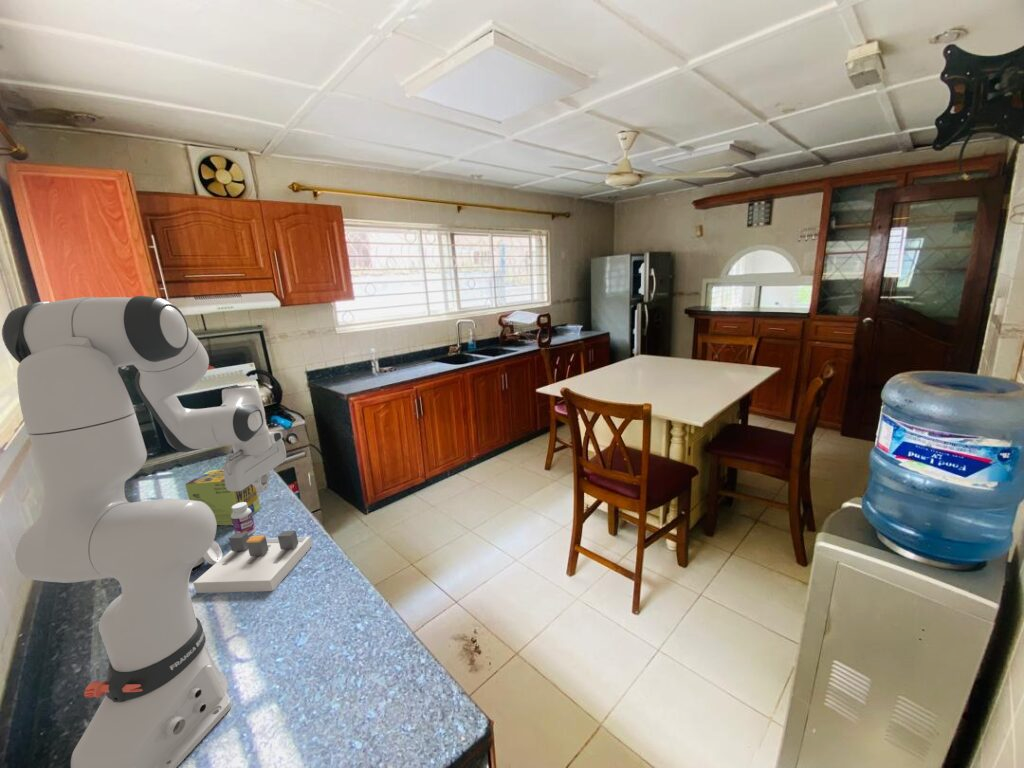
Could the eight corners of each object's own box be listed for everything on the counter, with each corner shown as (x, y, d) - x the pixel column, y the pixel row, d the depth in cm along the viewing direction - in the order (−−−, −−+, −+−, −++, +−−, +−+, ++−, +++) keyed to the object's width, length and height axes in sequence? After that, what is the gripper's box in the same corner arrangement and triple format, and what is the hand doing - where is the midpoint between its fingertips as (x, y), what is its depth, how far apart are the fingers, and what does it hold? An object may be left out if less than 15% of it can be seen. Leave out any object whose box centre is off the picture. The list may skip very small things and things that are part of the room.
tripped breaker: (262, 555, 108) (259, 540, 108) (250, 556, 109) (246, 541, 108) (268, 550, 111) (265, 535, 110) (256, 550, 111) (252, 535, 110)
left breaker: (244, 550, 111) (241, 537, 111) (232, 551, 112) (228, 538, 111) (250, 545, 114) (247, 532, 113) (238, 545, 114) (235, 533, 113)
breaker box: (272, 590, 100) (270, 579, 99) (196, 593, 101) (192, 582, 100) (312, 545, 117) (310, 536, 116) (246, 548, 119) (244, 538, 118)
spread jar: (168, 567, 113) (157, 529, 110) (217, 547, 121) (207, 511, 118) (176, 586, 104) (163, 545, 102) (227, 563, 112) (217, 525, 110)
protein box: (242, 524, 132) (230, 480, 129) (196, 527, 133) (183, 484, 129) (262, 508, 142) (252, 466, 139) (219, 510, 143) (208, 469, 140)
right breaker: (293, 548, 110) (290, 535, 110) (280, 549, 111) (277, 536, 110) (298, 543, 113) (295, 530, 112) (286, 544, 113) (283, 531, 112)
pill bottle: (246, 538, 124) (238, 510, 122) (231, 537, 125) (224, 509, 123) (260, 528, 129) (253, 500, 127) (246, 527, 130) (239, 500, 128)
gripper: (235, 458, 99) (248, 509, 103) (285, 430, 119) (295, 473, 122) (211, 460, 100) (224, 510, 103) (265, 431, 120) (275, 474, 123)
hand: (263, 490), depth 113 cm, fingers closed
